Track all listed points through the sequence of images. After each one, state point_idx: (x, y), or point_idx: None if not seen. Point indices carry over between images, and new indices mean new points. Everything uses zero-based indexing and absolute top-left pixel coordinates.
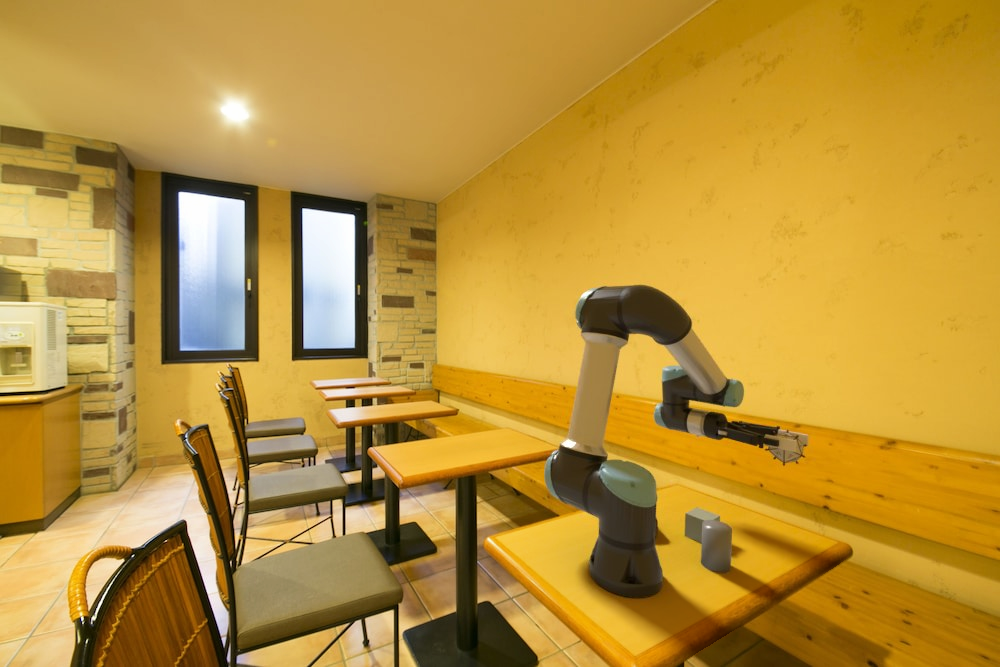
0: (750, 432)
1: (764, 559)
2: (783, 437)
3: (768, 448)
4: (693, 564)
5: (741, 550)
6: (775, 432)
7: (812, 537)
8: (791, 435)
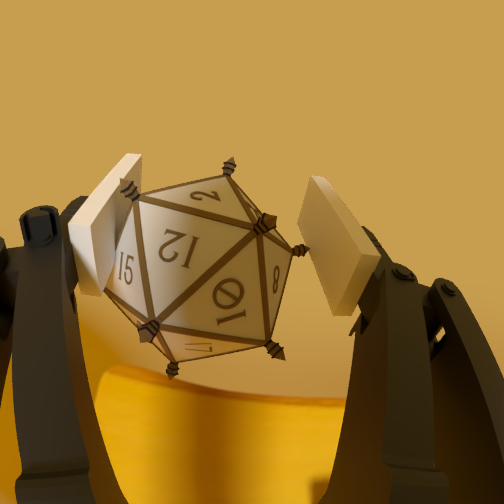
0: (425, 339)
1: (308, 443)
2: (254, 213)
3: (269, 337)
4: None
5: (317, 482)
6: (263, 216)
7: (111, 407)
8: (201, 184)
